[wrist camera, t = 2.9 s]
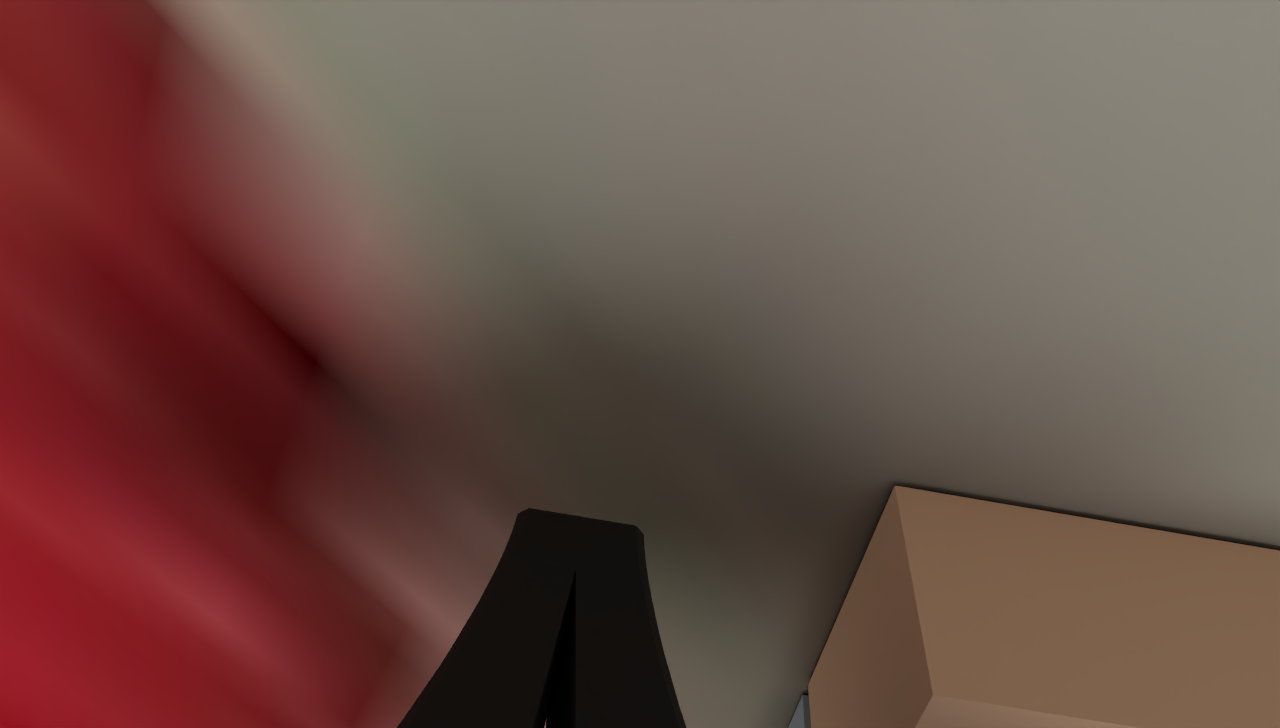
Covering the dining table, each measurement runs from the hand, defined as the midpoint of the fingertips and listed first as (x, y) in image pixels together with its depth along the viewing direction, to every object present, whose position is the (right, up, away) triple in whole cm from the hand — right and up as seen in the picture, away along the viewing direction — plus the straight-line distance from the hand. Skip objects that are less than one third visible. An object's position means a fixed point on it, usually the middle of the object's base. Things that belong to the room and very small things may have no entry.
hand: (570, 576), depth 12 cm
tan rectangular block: (+7, -1, +2) cm, 7 cm away
